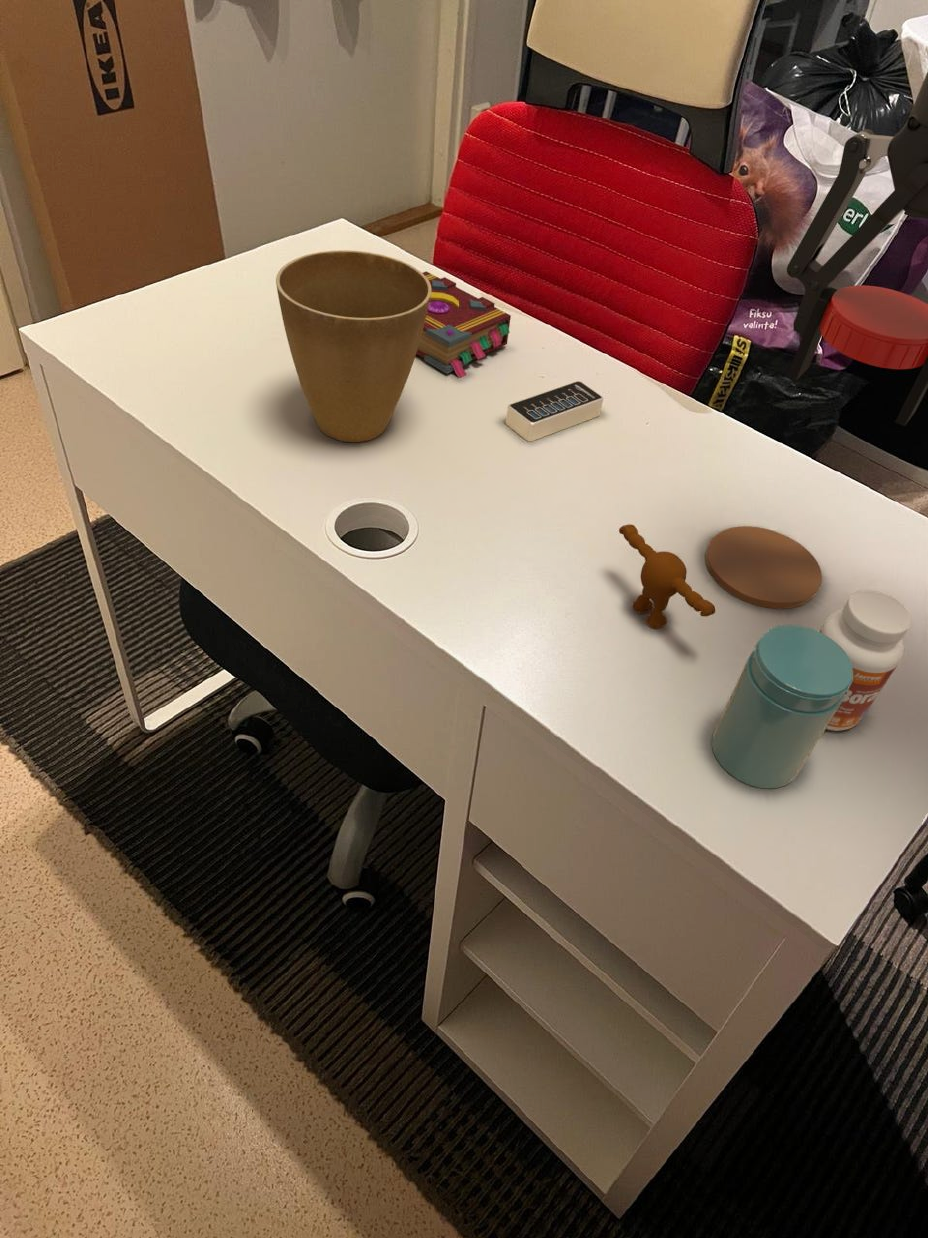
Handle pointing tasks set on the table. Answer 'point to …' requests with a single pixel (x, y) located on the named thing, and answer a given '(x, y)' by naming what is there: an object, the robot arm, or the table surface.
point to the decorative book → (459, 327)
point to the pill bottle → (867, 649)
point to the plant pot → (352, 335)
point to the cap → (877, 326)
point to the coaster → (763, 567)
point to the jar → (781, 705)
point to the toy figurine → (662, 581)
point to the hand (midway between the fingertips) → (850, 394)
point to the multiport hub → (553, 410)
